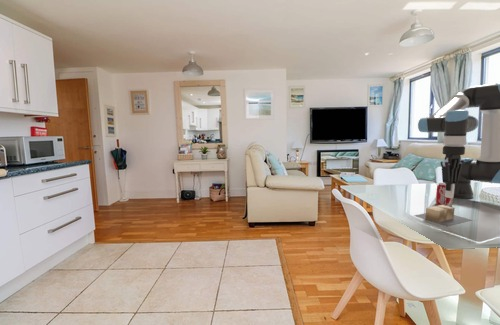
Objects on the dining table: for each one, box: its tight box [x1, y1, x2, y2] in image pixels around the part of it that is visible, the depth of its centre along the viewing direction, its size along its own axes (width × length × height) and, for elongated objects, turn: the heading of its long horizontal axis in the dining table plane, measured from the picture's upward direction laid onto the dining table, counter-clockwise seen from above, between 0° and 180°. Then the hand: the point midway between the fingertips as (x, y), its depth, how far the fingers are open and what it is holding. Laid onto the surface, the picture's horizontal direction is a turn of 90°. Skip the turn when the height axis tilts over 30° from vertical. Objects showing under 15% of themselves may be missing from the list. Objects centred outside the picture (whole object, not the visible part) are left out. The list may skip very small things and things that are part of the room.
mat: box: [413, 212, 473, 227], centre depth 108 cm, size 18×14×1 cm
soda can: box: [435, 182, 454, 207], centre depth 127 cm, size 7×7×12 cm
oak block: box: [424, 205, 455, 223], centre depth 107 cm, size 5×5×11 cm
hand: (449, 197), depth 108 cm, fingers closed
